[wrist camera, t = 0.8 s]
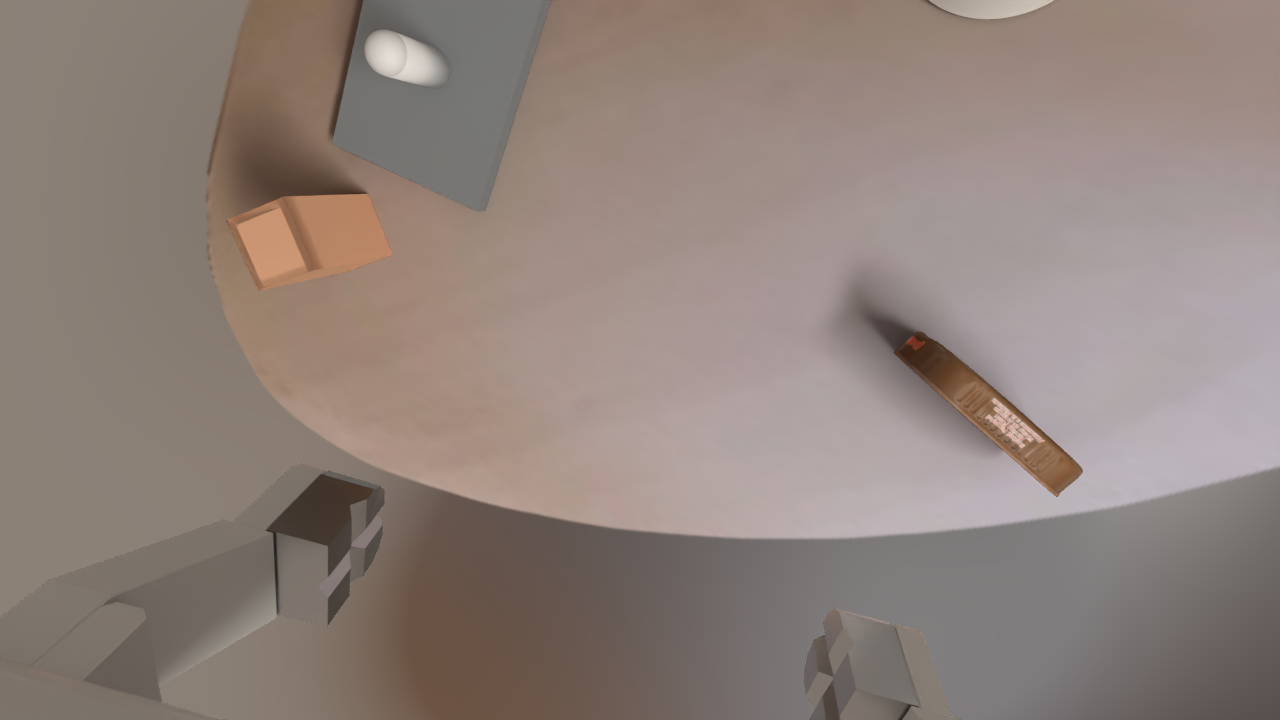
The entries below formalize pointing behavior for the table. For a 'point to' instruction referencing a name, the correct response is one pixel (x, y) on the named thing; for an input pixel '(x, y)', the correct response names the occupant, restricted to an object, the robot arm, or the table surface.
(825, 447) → the table surface
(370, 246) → the tall lidded tan box
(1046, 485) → the tin
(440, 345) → the table surface
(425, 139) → the base
